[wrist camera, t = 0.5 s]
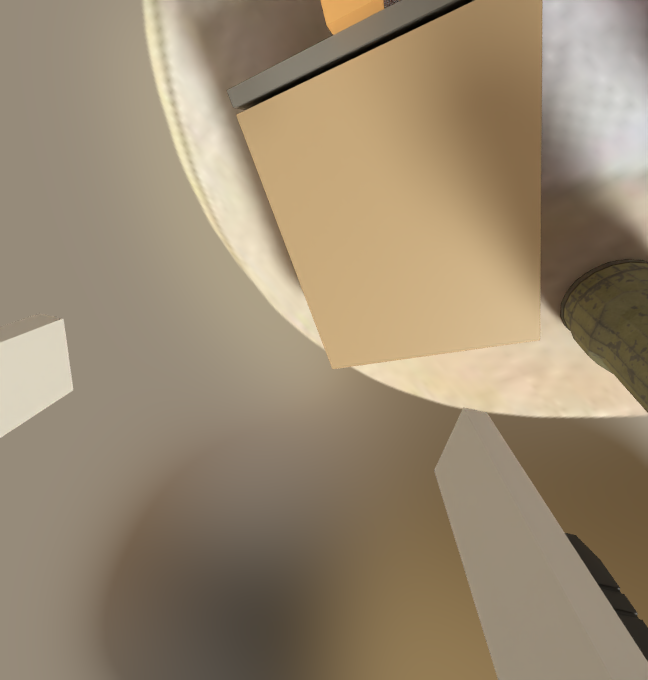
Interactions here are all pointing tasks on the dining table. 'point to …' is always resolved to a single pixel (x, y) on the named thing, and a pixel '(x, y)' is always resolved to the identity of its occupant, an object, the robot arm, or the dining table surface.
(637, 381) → the thermos
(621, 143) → the dining table surface
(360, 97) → the tan box
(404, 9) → the drawer
